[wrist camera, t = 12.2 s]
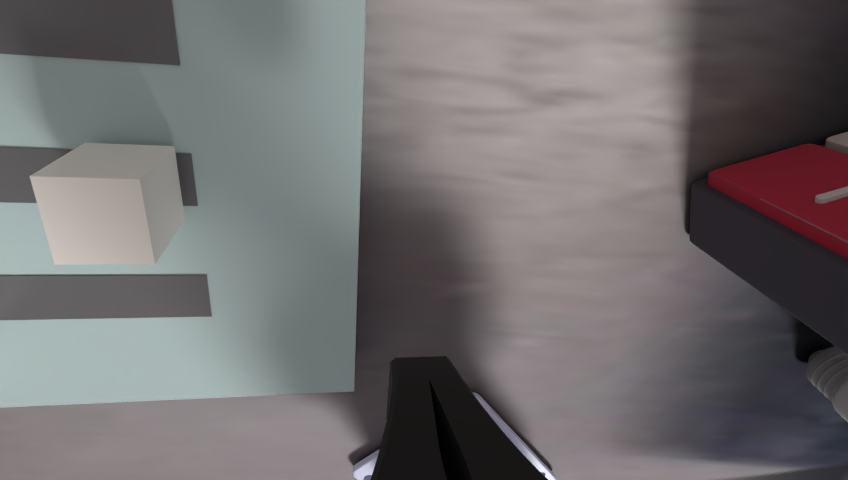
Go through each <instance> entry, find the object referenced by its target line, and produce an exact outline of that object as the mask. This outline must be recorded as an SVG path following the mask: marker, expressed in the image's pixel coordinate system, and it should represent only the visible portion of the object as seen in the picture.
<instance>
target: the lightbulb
mask: <svg viewBox="0 0 848 480" xmlns="http://www.w3.org/2000/svg"><path fill="white" fill-rule="evenodd" d="M805 373H806V377H807V379H808V380H809V381H810V382H811V383H812V384H813V385H814V386H816V387H817V389H818V390H819V391H820V392H822V393H823V394H824V395H825V396H826V397H827V398H829V399H830V400H831V401H832V403H833V407H834V409H835V410H836V411H837V412H838V413H839V414H840V415H841V416H842V417H843V418H844V419H845V420H846V421H847V422H848V355H847V354H846V353H845V352H843V351H842V350H840V349H839V348H838V347H831V348H827V349H824V350H818V351H816V352H814V353H813V354H811V355H810V357H809V359H808V364H807V366H806V369H805Z"/></svg>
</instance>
